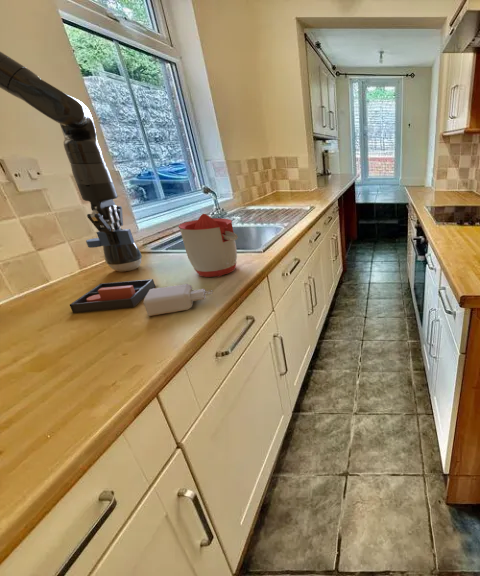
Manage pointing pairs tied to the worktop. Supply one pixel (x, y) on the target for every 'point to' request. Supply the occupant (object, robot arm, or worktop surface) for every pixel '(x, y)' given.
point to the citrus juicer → (210, 245)
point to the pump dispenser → (122, 256)
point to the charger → (172, 299)
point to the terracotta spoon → (113, 293)
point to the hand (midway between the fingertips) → (117, 243)
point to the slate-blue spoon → (102, 240)
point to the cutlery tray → (140, 292)
